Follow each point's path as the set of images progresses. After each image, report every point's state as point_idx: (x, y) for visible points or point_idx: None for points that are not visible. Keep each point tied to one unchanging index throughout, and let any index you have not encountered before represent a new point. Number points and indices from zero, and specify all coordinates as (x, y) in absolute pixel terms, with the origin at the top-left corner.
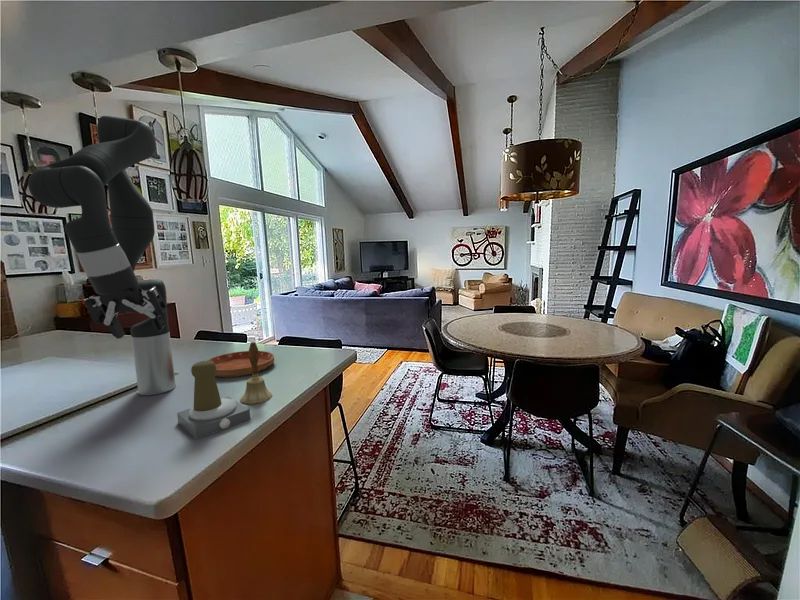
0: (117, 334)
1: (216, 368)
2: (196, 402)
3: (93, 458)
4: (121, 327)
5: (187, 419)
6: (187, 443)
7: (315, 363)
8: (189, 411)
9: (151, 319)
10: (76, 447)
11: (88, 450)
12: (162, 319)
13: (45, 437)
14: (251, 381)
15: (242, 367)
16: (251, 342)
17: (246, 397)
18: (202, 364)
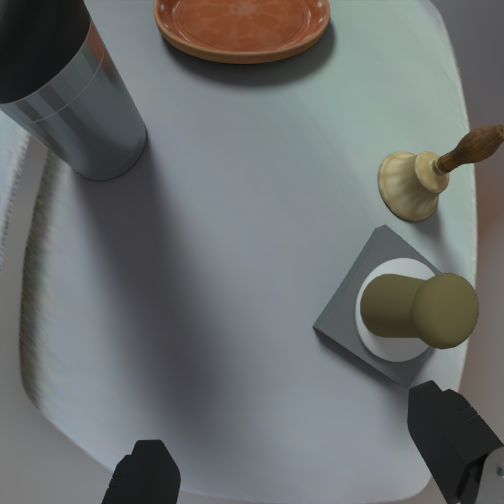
0: (175, 499)
1: (186, 23)
2: (389, 336)
3: (247, 461)
4: (147, 480)
5: (368, 358)
6: (387, 397)
7: (401, 13)
8: (364, 340)
9: (455, 500)
10: (172, 432)
11: (209, 441)
12: (482, 419)
13: (70, 391)
14: (436, 187)
15: (257, 18)
16: (498, 127)
17: (409, 207)
18: (466, 331)
